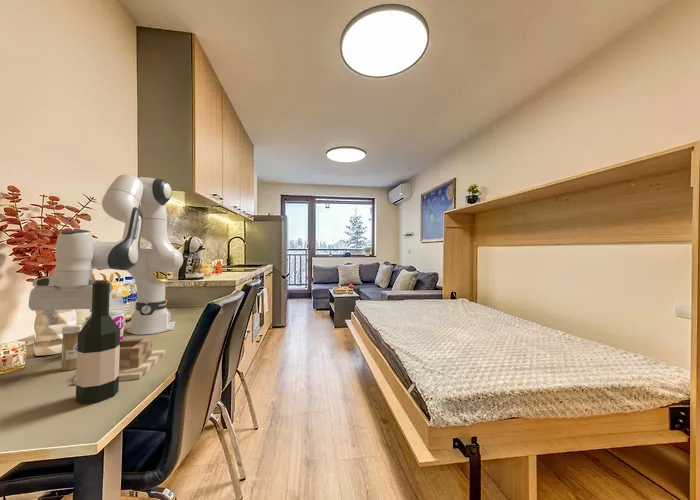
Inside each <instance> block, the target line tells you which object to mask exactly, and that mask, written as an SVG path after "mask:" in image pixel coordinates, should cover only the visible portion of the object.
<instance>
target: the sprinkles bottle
mask: <svg viewBox="0 0 700 500" xmlns="http://www.w3.org/2000/svg"><path fill="white" fill-rule="evenodd" d="M82 328H83V325H82V324H70V325H66V326H62V330H61V334H62V344H61V368H60V370H62V371H66V372H67V371H73V370H77V344H78V334H79V332H80V331H81V330H82Z"/></svg>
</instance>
